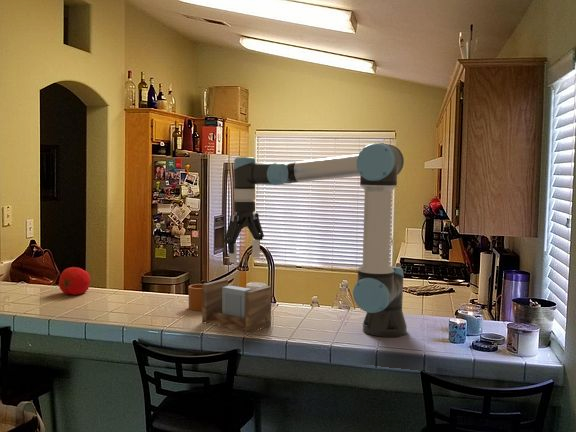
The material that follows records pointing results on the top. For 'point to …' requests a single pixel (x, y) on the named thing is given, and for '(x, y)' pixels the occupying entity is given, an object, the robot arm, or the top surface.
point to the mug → (195, 297)
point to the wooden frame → (255, 316)
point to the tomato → (74, 281)
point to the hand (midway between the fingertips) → (244, 259)
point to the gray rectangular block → (234, 301)
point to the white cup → (255, 285)
